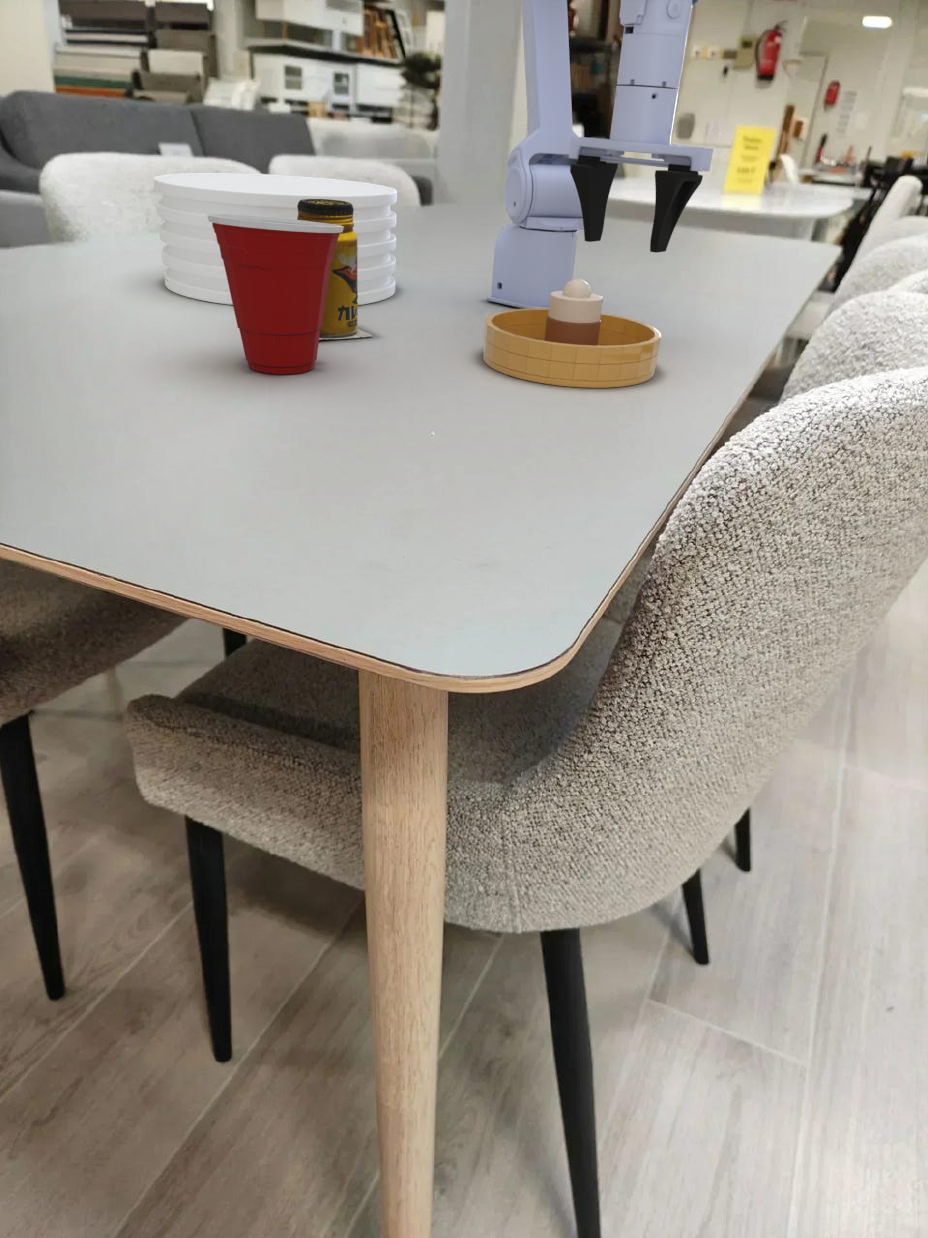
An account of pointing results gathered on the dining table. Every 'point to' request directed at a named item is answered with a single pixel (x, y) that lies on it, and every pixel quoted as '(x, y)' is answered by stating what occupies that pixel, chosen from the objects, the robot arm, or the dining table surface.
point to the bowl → (570, 351)
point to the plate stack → (266, 196)
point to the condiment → (338, 268)
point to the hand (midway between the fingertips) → (624, 246)
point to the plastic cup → (277, 286)
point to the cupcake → (574, 315)
